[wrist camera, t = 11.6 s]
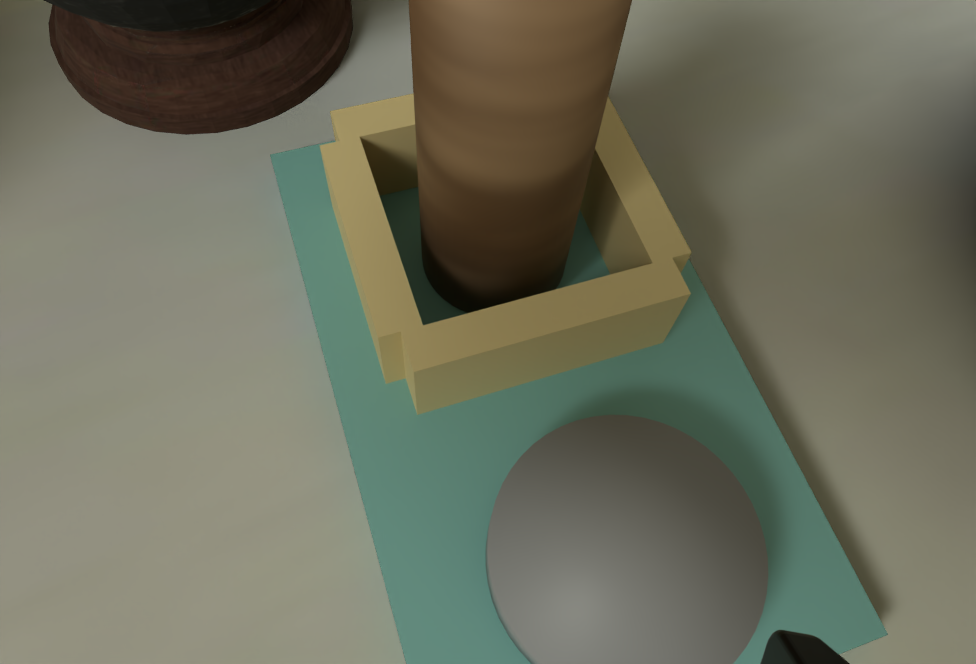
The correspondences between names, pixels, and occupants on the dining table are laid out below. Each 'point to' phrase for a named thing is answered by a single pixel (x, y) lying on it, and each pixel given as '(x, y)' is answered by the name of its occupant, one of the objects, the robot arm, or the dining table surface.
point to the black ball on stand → (198, 57)
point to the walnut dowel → (506, 137)
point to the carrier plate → (500, 430)
